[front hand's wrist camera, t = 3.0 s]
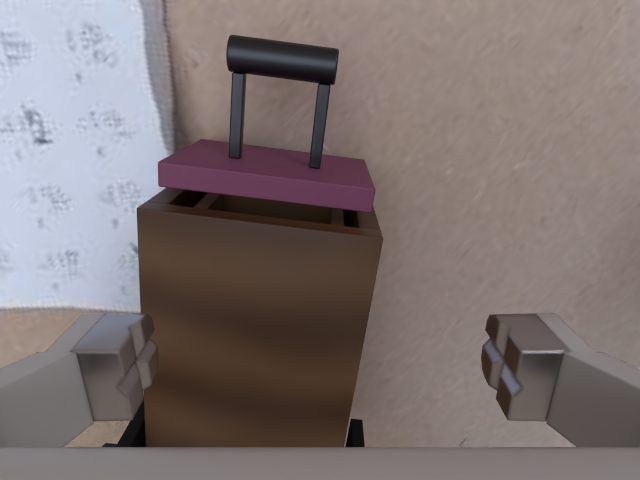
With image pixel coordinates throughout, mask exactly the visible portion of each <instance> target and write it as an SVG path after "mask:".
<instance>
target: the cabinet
mask: <svg viewBox="0 0 640 480" xmlns="http://www.w3.org/2000/svg"><path fill="white" fill-rule="evenodd" d="M207 193H208V192H200V191H192V190H184V189H176V188H168V187H167V188H165V189H164V190H162V191H161V192H160V193H158V194H157V195H155V196H154V197H152V198H151V199H150V200H148V201H147V202H145V203H144V204H142V205H141V206H139V207H138V208H137V225H138V251H139V278H140V304H141V314H149V315H150V316H151V317H152V319H153V324H154V329H155V330H154V332H153V333H152V335H151V337H150V339H151V340H152V341H153V342H154V343H155V344H156V345H157V347H158V354H159V365H158V369H157V373H156V377H155V379H154V381H153V383H152V385H151V386H149V387H148V388H146V389H145V390H144V408H145V434H146V447H344V442H345V437H346V432H347V427H348V421H349V416H350V411H351V406H352V400H353V395H354V390H355V384H356V379H357V374H358V369H359V363H360V358H361V353H362V348H363V342H364V337H365V332H366V327H367V321H368V316H369V311H370V306H371V300H372V295H373V290H374V284H375V279H376V274H377V269H378V263H379V258H380V253H381V248H382V242H383V237H382V234H381V230H380V227H379V224H378V221H377V217H376V214H375V211H374V208H373V206H372V211H371V212H370V213H369V212H361V211H353V210H345V209H343V213H344V224H345V226H339V225H330V224H322V223H314V222H306V221H298V220H290V219H282V218H274V217H266V216H257V215H249V214H241V213H233V212H225V211H217V210H209V209H201V208H193V207H194V206H195V205H196V204H197V203H198V202H199V201H200V200H201V199H202V198H203V197H204V196H205V195H206V194H207Z"/></svg>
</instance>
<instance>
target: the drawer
mask: <svg viewBox="0 0 640 480" xmlns="http://www.w3.org/2000/svg"><path fill="white" fill-rule="evenodd" d="M338 55H339V50H338V49H335V48H328V47H320V46H312V45H305V44H297V43H290V42H282V41H275V40H267V39H260V38H252V37H245V36H237V35H231V36H230V37H229V39H228V44H227V66H228V70H229V71H231V72H233V73H232V92H231V115H230V139H229V143H227V142H219V141H211V140H203V139H201V140H199V141H197V142H195V143H194V144H192V145H190V146H188V147H186V148H184V149H182V150H180V151H178V152H176V153H174V154H173V155H171V156H169V157H167V158H165V159H163V160H161V161H159V162H158V185H159V186H160V187H168V188H176V189H184V190H192V191H200V192H208V193H207V194H206V195H205V196H204V197H203V198H202V199H201V200H200V201H199V202H198V203H197V204H196V205H195V206H194V207H193V208H201V209H209V210H217V211H225V212H233V213H241V214H249V215H257V216H266V217H274V218H282V219H290V220H298V221H306V222H314V223H322V224H330V225H339V226H345V224H344V213H343V209H345V210H353V211H361V212H369V213H370V212H371V211H372V206H373V200H374V194H375V188H374V185H373V182H372V180H371V177H370V174H369V172H368V169H367V166H366V164H365V161H364V160H361V159H353V158H345V157H337V156H329V155H322V150H323V142H324V134H325V126H326V117H327V109H328V101H329V93H330V85H334V84H335V79H336V71H337V63H338ZM246 74H253V75H260V76H268V77H276V78H283V79H291V80H298V81H306V82H314V83H319V84H318V90H317V99H316V108H315V117H314V126H313V135H312V143H311V152H310V153H306V152H298V151H290V150H282V149H274V148H266V147H258V146H250V145H243V127H244V108H245V90H246Z"/></svg>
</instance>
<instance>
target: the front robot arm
mask: <svg viewBox="0 0 640 480" xmlns="http://www.w3.org/2000/svg"><path fill="white" fill-rule="evenodd" d="M154 330H155V329H154V324H153V319H152V317H151V316H150V315H149V314H121V313H108V314H107V313H87V314H82V315H81V316H80V317H79V318H78V319H77V320H76V321H75V322H74V323H73V324H72V325H71V326H70V327H69V328H68V329H67V330H66V331H65V332H64V333H63V334H62V335H61V336H60V337H59V338H58V339H57V340H56V341H55V342H54V343H53V344H52V345H51V346H50V347H49V348H48V349H47V350H46V351H45V352H37V353H35V354H33V355H30V356H28V357H26V358H24V359H21V360H19V361H17V362H15V363H12V364H10V365H8V366H6V367H3V368H1V369H0V480H640V369H639V368H637V367H634V366H632V365H630V364H628V363H625V362H623V361H621V360H619V359H616V358H614V357H612V356H610V355H607V354H605V353H603V352H595V351H594V350H593V349H592V348H591V347H590V346H589V345H588V344H587V343H586V342H585V341H584V340H583V339H582V338H581V337H580V336H579V335H578V334H577V333H576V332H575V331H574V330H573V329H572V328H571V327H570V326H569V325H568V324H567V323H566V322H565V321H564V320H563V319H562V318H561V317H560V316H559V315H557V314H555V313H534V314H495V315H489V318H488V320H487V323H486V329H485V330H486V332H487V333H488V335H489V337H490V339H489V340H488V341H487V342H486V343H485V344H484V345H483V347H482V355H481V362H482V370H483V374H484V377H485V379H486V381H487V383H488V385H489V386H491V387H492V388H494V389H495V390H497V395H496V400H497V402H498V403H499V405H500V407H501V409H502V411H503V412H504V414H505V416H506V418H507V420H516V421H547V422H546V423H547V424H548V425H549V426H551V427H552V428H553V429H555V430H556V431H557V432H558V433H560V434H561V435H562V436H563V437H565V438H566V439H567V440H569V441H570V442H571V443H572V444H574V445H575V446H576V447H64V446H65V445H66V444H68V443H69V442H70V441H72V440H73V439H74V438H75V437H77V436H78V435H79V434H80V433H82V432H83V431H84V430H86V429H87V428H88V427H89V426H91V425H92V424H93V421H123V420H133V418H134V416H135V414H136V413H137V411H138V409H139V407H140V405H141V403H142V402H143V400H144V395H143V390H145V389H146V388H148V387H149V386H151V385H152V383H153V381H154V379H155V377H156V373H157V369H158V365H159V354H158V347H157V345H156V344H155V343H154V342H153V341H152V340H151V339H150V337H151V335H152V333H153V332H154Z"/></svg>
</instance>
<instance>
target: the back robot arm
mask: <svg viewBox="0 0 640 480" xmlns="http://www.w3.org/2000/svg"><path fill="white" fill-rule="evenodd" d="M102 447H146V434H145V408H144V400H143V402H142V403H141V405H140V407H139V409H138V411H137V413H136V414H135V416H134V418H133V420H131V421H130V423H129V425H128V426H127V428H126V430H125V432H124V433H123V435H122V437H121V439H120V440H119V442H118V444H109V443H106V444H104V445H103V446H102ZM346 447H364V435H363V423H362V420H357V419H351V421H350V427H349V432H348V437H347V442H346Z"/></svg>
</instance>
